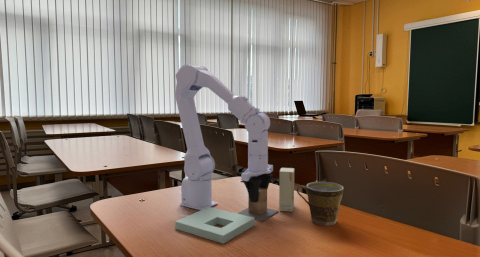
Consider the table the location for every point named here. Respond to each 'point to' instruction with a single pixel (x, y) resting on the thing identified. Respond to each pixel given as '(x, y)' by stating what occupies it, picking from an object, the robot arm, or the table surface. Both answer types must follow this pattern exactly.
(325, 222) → the ceramic cup
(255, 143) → the robot arm
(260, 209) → the walnut block
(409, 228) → the table surface
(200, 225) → the pocket board
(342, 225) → the table surface
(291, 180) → the skincare box
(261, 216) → the rubber mat
